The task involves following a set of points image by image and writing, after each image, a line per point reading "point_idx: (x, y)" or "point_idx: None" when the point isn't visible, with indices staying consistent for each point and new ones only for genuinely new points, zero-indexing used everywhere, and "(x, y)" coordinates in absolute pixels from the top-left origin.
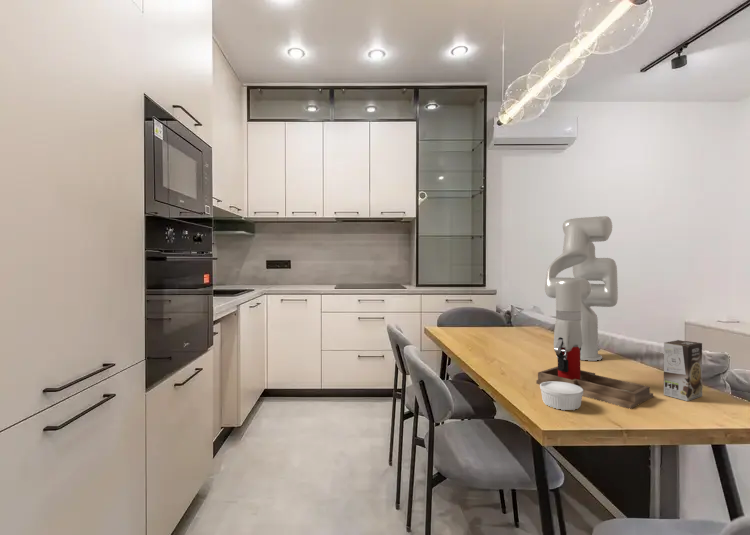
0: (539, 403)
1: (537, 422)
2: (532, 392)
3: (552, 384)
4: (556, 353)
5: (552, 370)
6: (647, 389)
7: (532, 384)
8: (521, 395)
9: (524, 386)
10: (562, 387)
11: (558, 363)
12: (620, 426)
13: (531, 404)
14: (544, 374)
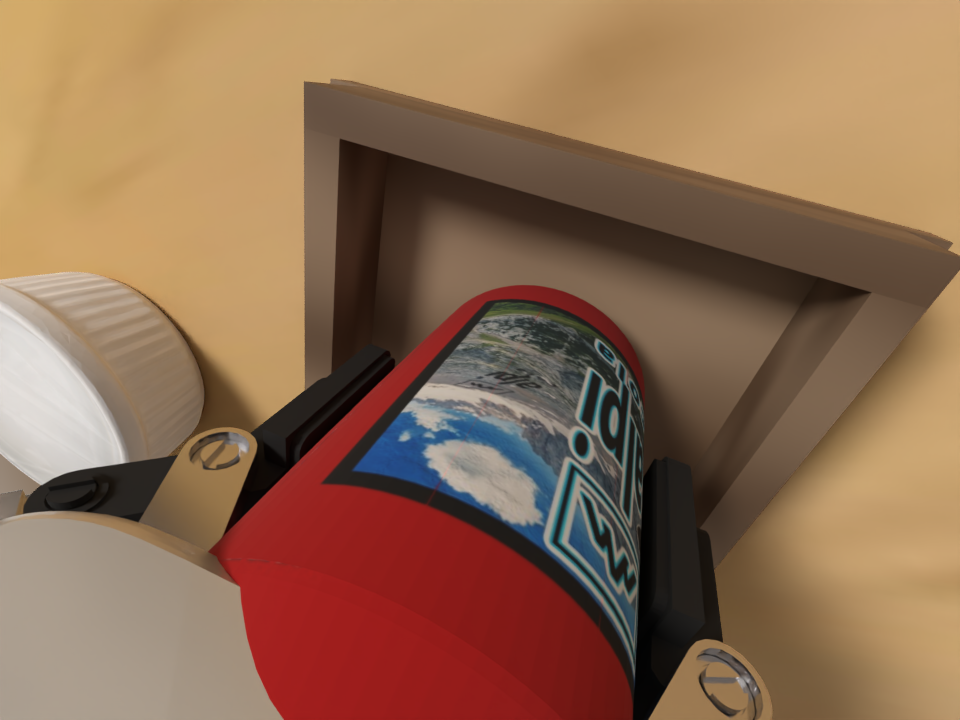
0: (54, 258)
1: None
2: (139, 153)
3: (43, 349)
4: (47, 490)
5: (593, 207)
6: None
7: (294, 59)
8: (36, 108)
9: (188, 17)
10: (22, 417)
11: (317, 391)
12: None
13: (9, 224)
14: (307, 183)
